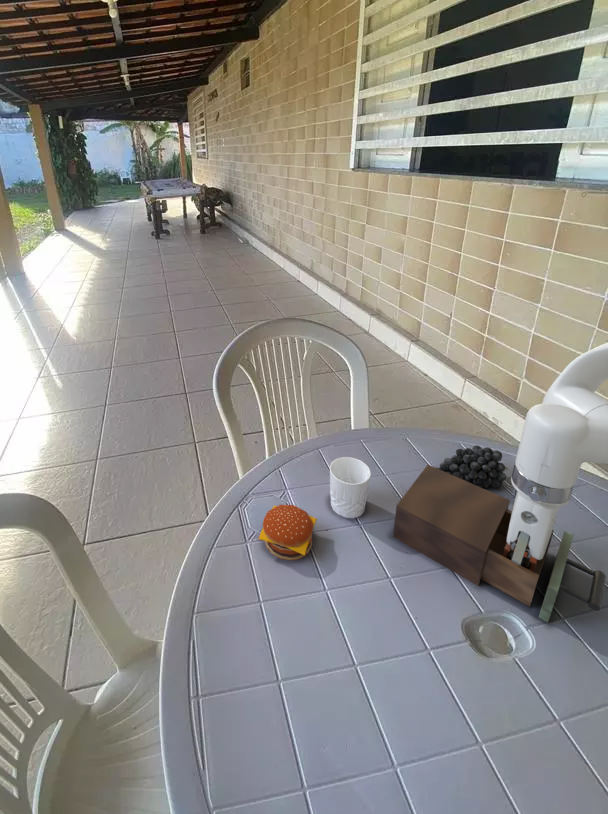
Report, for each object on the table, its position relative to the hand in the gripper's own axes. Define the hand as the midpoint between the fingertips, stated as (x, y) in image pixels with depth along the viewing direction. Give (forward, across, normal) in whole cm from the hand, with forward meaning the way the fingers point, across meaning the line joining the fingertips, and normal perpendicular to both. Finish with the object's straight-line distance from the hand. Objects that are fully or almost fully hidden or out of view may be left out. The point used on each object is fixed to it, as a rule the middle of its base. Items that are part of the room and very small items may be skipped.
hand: (518, 564), depth 72 cm
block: (0, 0, 0) cm, 0 cm away
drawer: (+1, 0, -1) cm, 2 cm away
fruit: (+3, +18, +14) cm, 23 cm away
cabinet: (+2, 0, +11) cm, 11 cm away
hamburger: (+3, -21, +33) cm, 39 cm away
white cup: (+3, -6, +29) cm, 29 cm away
